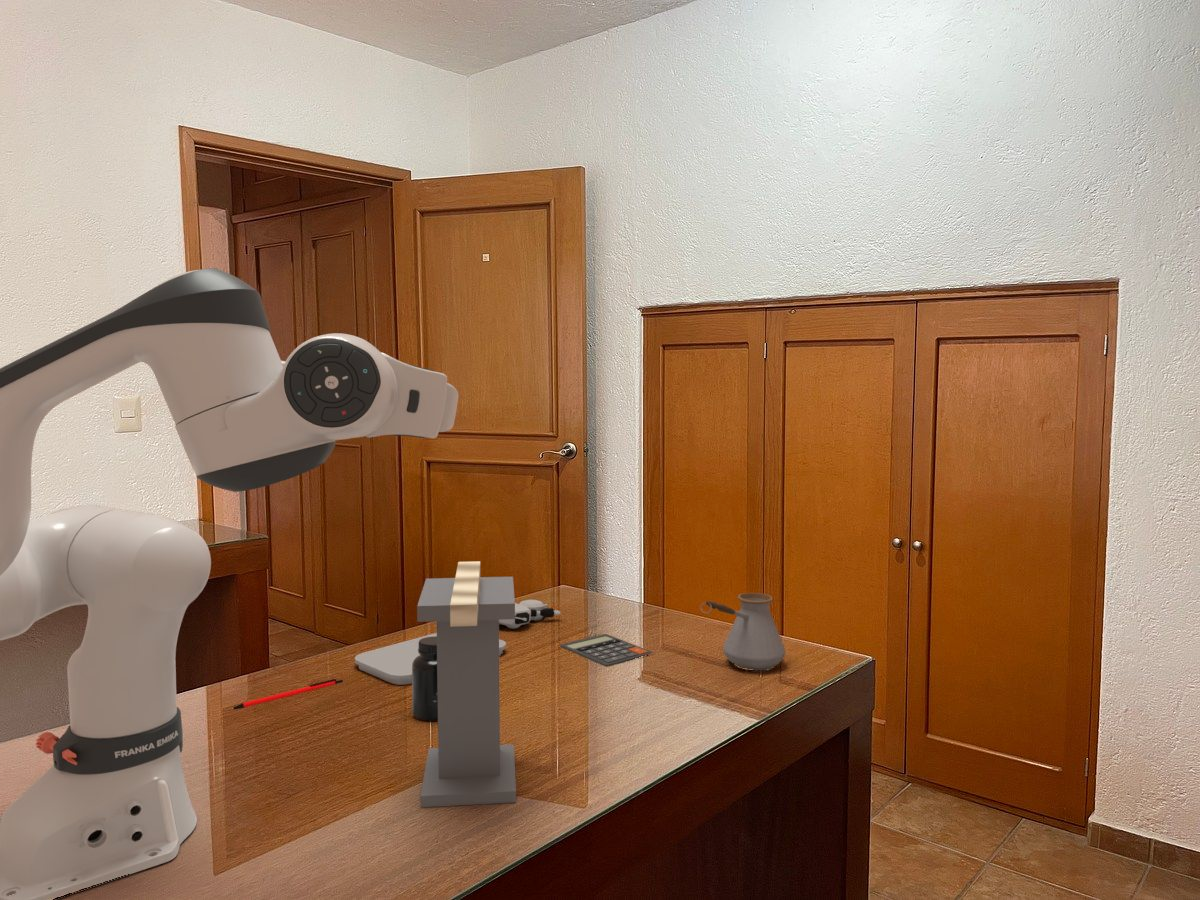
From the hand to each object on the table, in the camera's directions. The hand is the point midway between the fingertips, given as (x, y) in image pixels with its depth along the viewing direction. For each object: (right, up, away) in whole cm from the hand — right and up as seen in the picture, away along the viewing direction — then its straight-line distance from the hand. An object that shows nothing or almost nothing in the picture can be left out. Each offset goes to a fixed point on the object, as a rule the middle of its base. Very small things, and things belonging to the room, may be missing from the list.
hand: (363, 396), depth 98 cm
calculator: (+27, -46, +76) cm, 93 cm away
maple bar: (+9, -25, +15) cm, 30 cm away
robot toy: (+9, -43, +95) cm, 105 cm away
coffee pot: (+51, -46, +65) cm, 95 cm away
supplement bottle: (-1, -48, +45) cm, 66 cm away
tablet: (-6, -46, +70) cm, 84 cm away
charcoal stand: (+8, -50, +22) cm, 56 cm away
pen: (-26, -48, +52) cm, 76 cm away
